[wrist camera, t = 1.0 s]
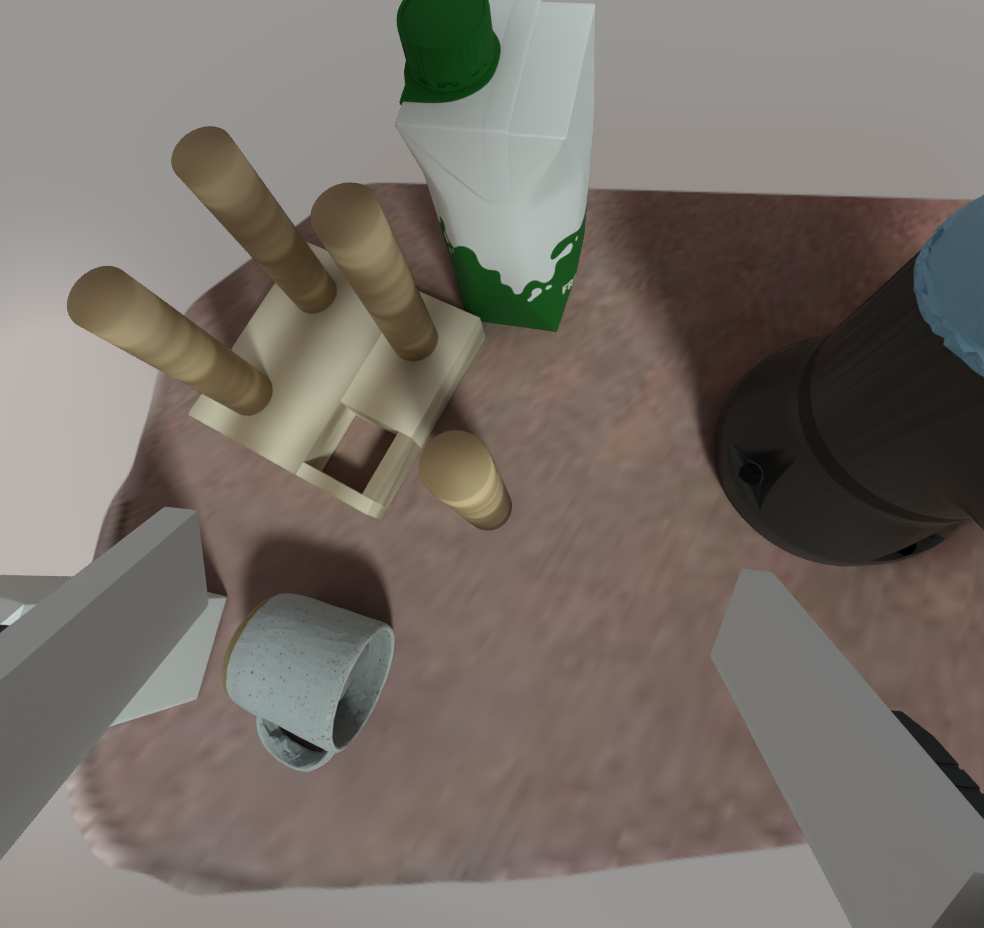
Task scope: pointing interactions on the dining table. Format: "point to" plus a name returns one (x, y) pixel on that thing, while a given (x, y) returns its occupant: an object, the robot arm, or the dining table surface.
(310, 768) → the ceramic mug
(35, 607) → the robot arm
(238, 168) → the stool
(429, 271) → the dining table surface
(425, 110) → the soya milk
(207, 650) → the milk carton
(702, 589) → the dining table surface
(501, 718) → the dining table surface
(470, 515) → the loose leg
